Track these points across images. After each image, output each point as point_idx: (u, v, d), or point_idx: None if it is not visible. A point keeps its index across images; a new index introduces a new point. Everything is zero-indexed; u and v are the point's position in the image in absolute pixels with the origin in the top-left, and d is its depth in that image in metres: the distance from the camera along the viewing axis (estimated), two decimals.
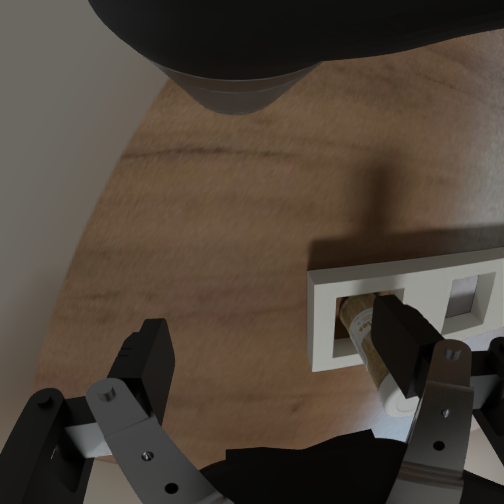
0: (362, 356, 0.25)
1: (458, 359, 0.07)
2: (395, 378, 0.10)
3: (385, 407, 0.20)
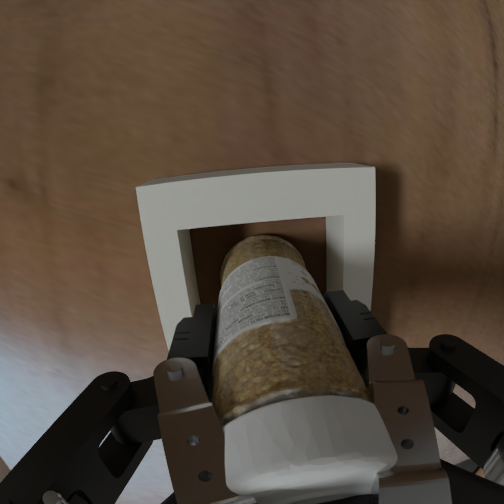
0: (272, 300, 0.10)
1: (390, 354, 0.08)
2: None
3: (289, 469, 0.04)
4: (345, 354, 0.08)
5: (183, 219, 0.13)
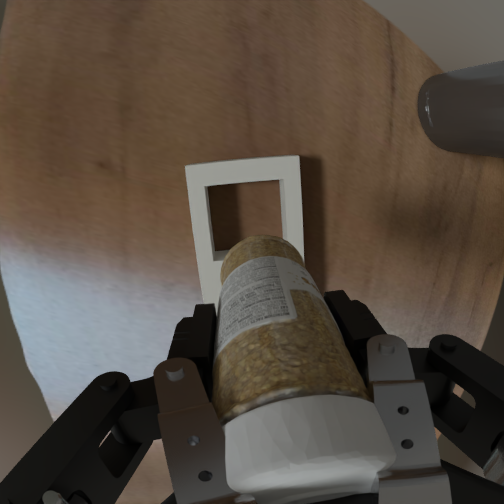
0: (271, 299, 0.10)
1: (390, 354, 0.08)
2: None
3: (289, 468, 0.04)
4: (345, 354, 0.08)
5: (207, 181, 0.28)
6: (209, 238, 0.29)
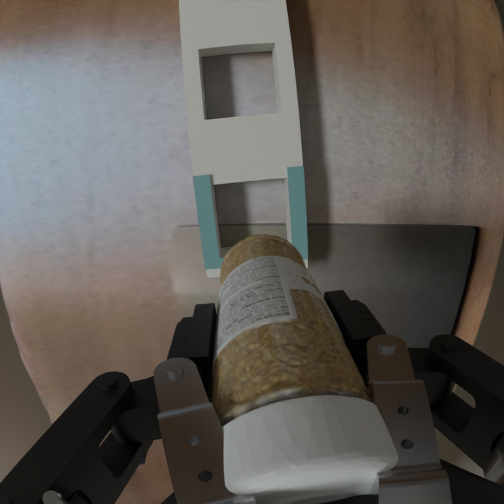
0: (271, 299, 0.10)
1: (390, 354, 0.08)
2: None
3: (289, 469, 0.04)
4: (345, 354, 0.08)
5: None
6: None
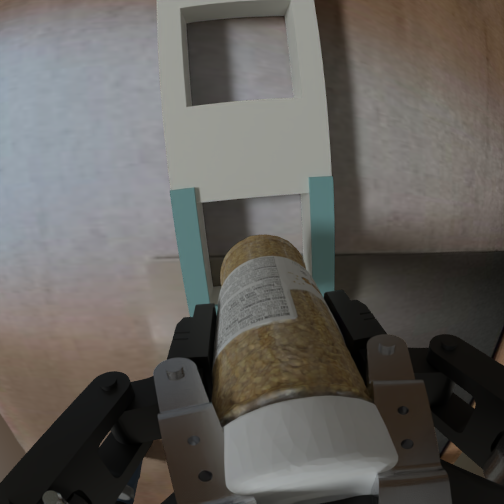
0: (272, 299, 0.10)
1: (390, 354, 0.08)
2: None
3: (289, 470, 0.04)
4: (345, 354, 0.08)
5: None
6: None
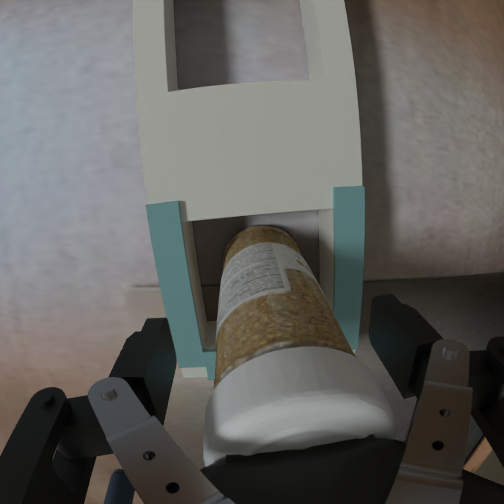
0: (268, 276, 0.11)
1: (456, 359, 0.07)
2: (393, 378, 0.10)
3: (282, 401, 0.05)
4: (333, 321, 0.09)
5: None
6: None
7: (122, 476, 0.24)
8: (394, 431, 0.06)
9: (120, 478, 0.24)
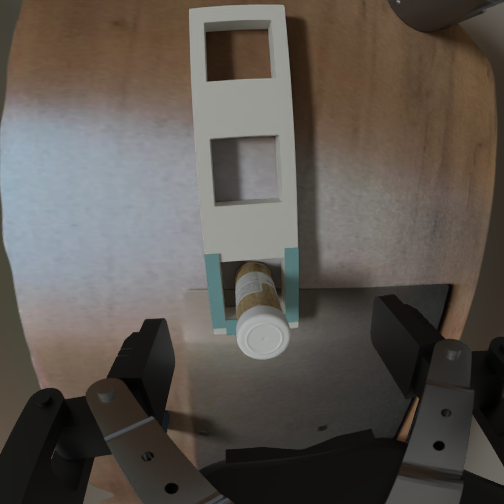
0: (255, 286, 0.31)
1: (458, 359, 0.07)
2: (395, 378, 0.10)
3: (257, 315, 0.26)
4: (275, 301, 0.29)
5: (206, 19, 0.27)
6: (204, 62, 0.28)
7: None
8: (288, 330, 0.26)
9: None
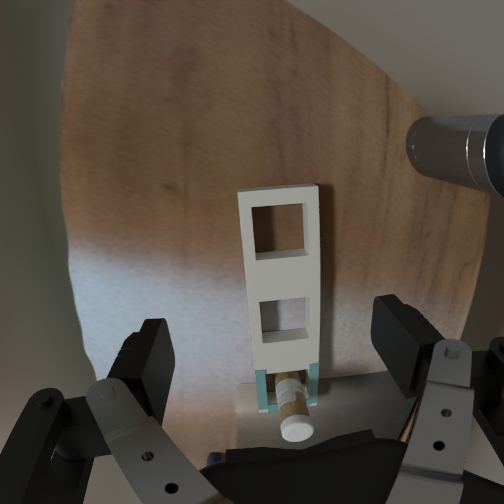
0: (291, 395, 0.45)
1: (458, 359, 0.07)
2: (395, 378, 0.10)
3: (294, 423, 0.39)
4: (304, 406, 0.43)
5: (253, 203, 0.40)
6: (253, 244, 0.41)
7: (215, 455, 0.58)
8: (312, 428, 0.39)
9: (215, 456, 0.57)
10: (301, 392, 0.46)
